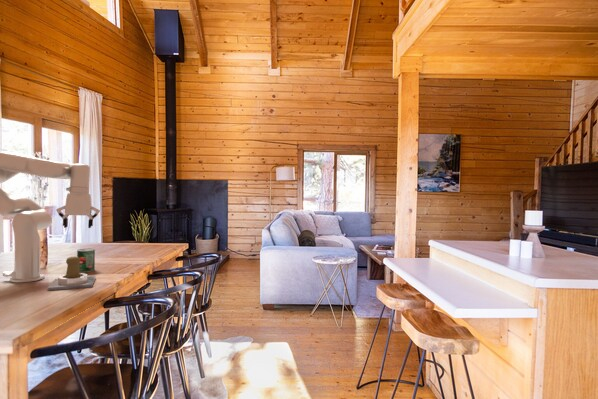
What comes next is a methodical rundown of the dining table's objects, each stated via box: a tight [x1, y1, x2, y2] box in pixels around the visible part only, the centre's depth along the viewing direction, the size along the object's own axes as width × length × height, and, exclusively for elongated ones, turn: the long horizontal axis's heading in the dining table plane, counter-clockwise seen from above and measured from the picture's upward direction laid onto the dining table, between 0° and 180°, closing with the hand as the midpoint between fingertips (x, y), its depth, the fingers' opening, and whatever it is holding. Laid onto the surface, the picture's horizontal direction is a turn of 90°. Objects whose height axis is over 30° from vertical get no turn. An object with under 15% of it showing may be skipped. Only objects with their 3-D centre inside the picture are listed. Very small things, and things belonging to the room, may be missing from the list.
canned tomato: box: [76, 248, 96, 273], centre depth 184 cm, size 8×8×11 cm
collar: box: [46, 272, 96, 291], centre depth 158 cm, size 16×16×4 cm
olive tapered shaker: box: [65, 256, 81, 278], centre depth 158 cm, size 6×6×11 cm
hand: (77, 227), depth 165 cm, fingers open, 9 cm apart
